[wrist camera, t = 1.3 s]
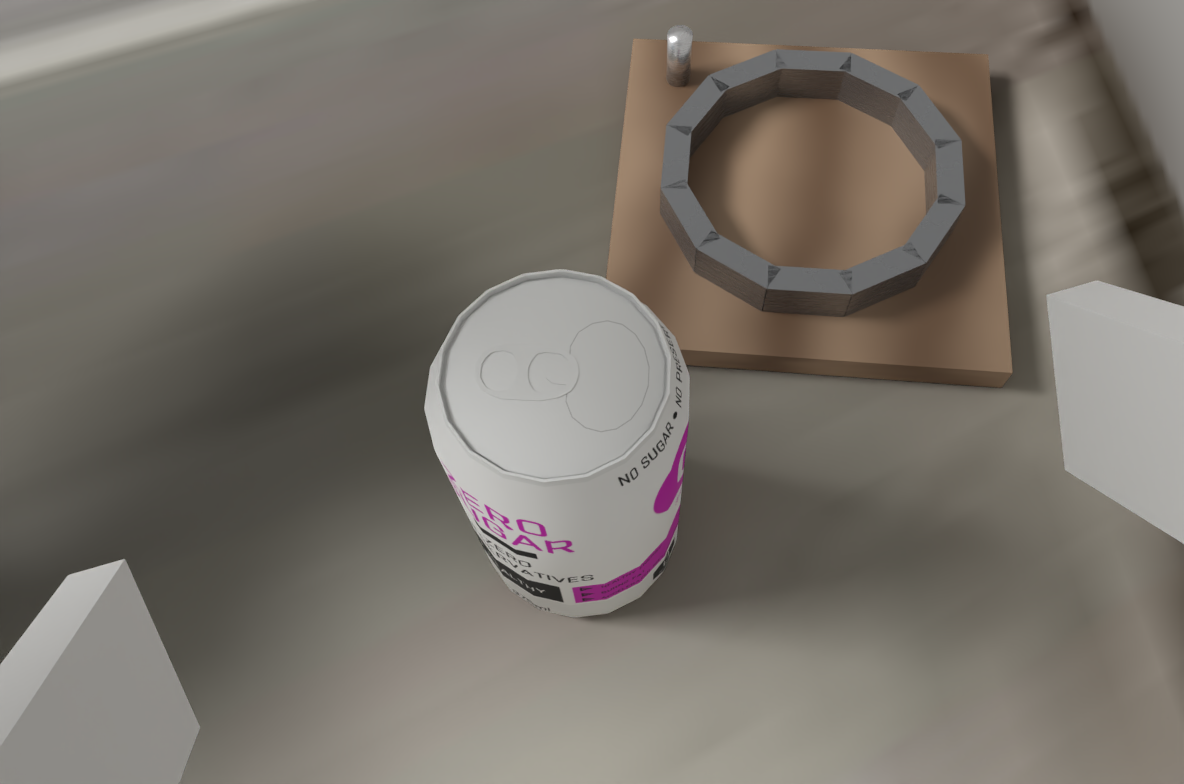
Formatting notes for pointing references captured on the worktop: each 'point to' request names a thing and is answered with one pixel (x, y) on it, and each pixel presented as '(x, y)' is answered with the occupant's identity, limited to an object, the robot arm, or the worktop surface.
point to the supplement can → (564, 437)
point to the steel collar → (816, 80)
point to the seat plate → (817, 222)
